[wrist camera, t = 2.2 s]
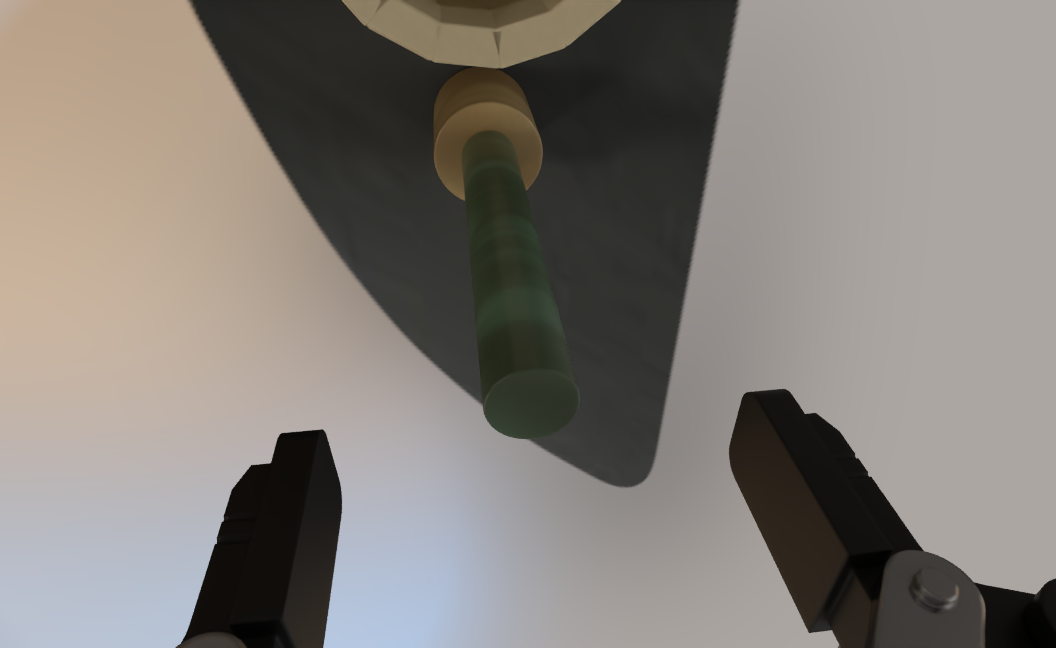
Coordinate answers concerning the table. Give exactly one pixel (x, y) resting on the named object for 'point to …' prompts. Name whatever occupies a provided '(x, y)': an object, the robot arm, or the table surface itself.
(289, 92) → the table surface
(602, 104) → the table surface
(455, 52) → the jar
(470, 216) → the brush
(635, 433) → the table surface
